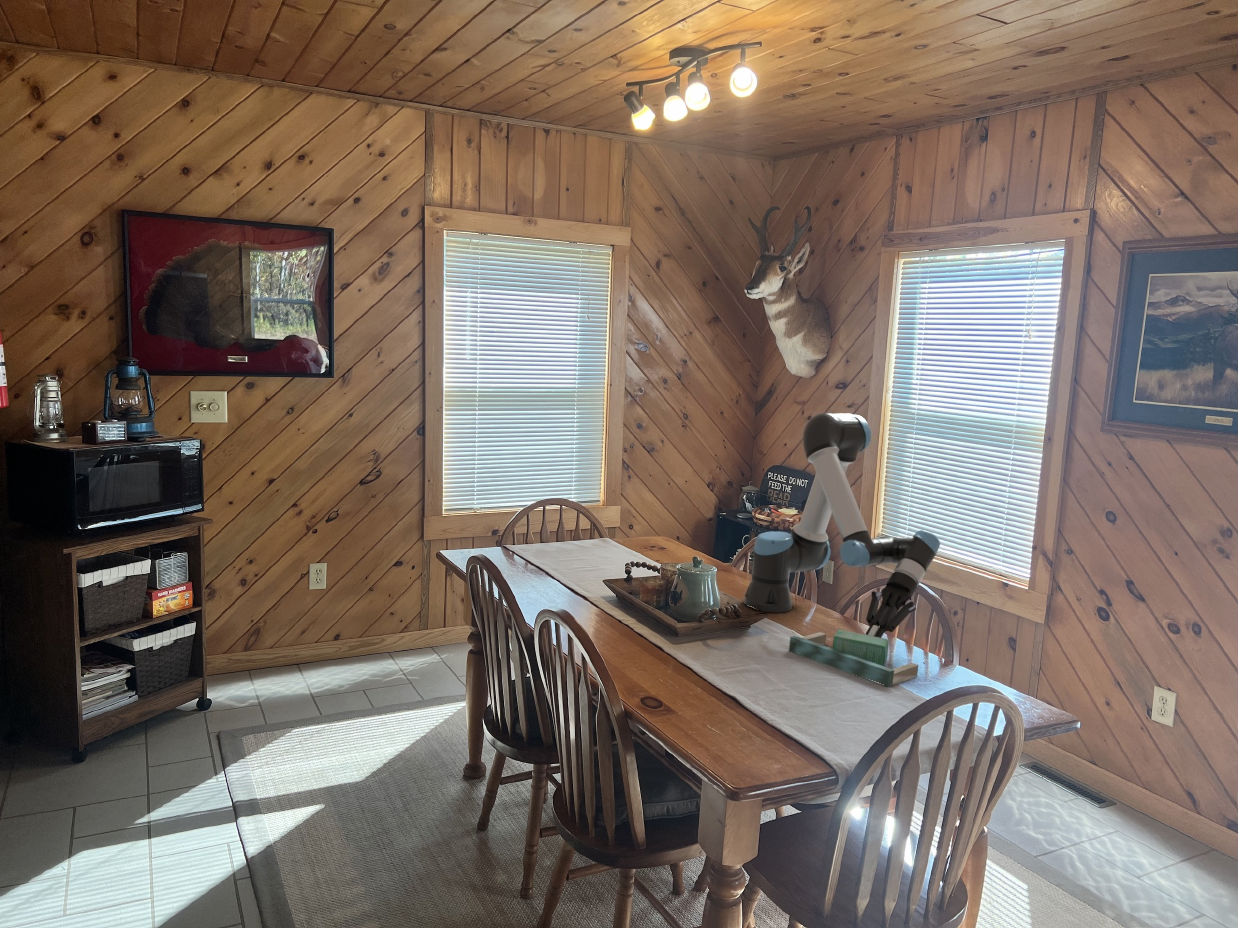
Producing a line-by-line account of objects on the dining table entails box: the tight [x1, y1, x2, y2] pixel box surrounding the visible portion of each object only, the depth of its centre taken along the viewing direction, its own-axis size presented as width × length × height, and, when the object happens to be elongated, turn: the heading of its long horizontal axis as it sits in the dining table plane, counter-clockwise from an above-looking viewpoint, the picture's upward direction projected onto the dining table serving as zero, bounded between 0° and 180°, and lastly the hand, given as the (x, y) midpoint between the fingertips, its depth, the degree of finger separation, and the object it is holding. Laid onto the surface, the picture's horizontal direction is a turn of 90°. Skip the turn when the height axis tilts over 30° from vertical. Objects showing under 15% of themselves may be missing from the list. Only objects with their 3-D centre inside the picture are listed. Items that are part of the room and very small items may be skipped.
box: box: [831, 628, 889, 667], centre depth 230 cm, size 7×14×8 cm, turn 67°
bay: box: [788, 631, 919, 687], centre depth 231 cm, size 30×14×4 cm, turn 42°
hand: (866, 647), depth 234 cm, fingers closed
